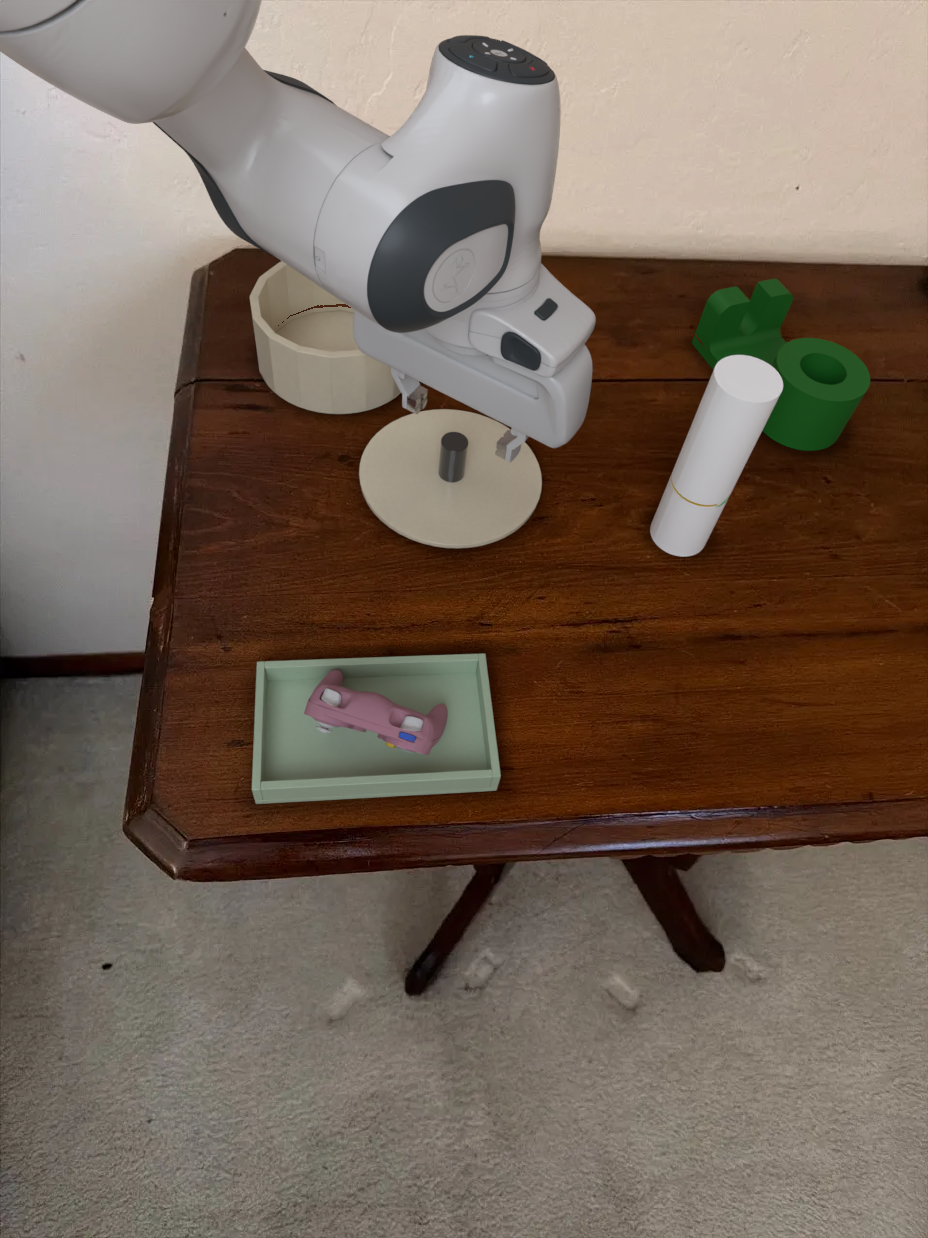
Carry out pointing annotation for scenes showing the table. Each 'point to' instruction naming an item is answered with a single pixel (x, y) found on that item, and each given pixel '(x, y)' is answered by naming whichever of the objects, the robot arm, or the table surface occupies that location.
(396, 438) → the lid
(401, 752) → the tray
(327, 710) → the video game controller
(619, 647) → the table surface
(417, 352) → the robot arm
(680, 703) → the table surface
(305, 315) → the cream bowl
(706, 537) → the tube
